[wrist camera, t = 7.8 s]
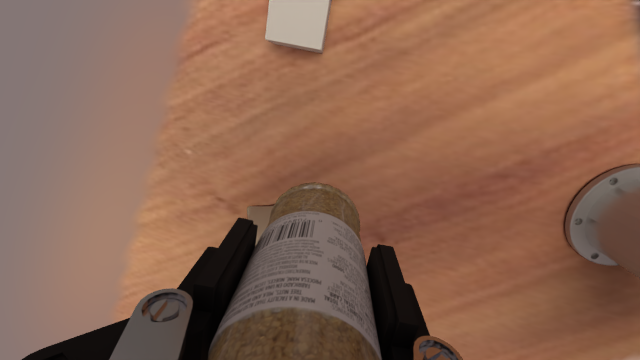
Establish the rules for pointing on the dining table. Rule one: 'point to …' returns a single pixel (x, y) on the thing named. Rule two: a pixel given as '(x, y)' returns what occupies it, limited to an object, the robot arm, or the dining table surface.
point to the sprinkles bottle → (303, 286)
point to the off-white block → (298, 23)
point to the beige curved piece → (259, 218)
